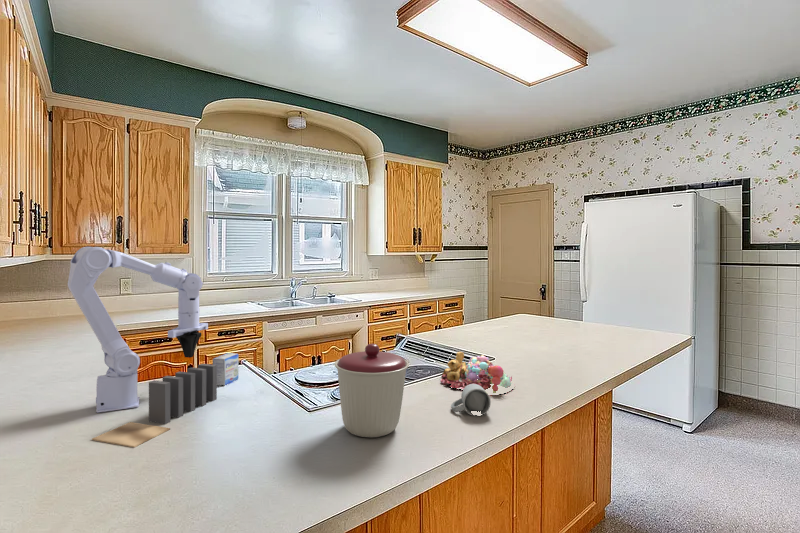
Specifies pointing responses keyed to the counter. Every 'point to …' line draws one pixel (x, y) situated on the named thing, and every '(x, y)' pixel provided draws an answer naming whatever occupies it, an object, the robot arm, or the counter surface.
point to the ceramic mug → (472, 400)
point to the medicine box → (226, 368)
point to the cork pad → (131, 434)
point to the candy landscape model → (474, 373)
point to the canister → (371, 391)
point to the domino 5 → (210, 381)
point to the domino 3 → (188, 390)
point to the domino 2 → (175, 395)
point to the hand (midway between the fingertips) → (188, 356)
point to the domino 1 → (159, 402)
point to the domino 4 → (199, 385)
